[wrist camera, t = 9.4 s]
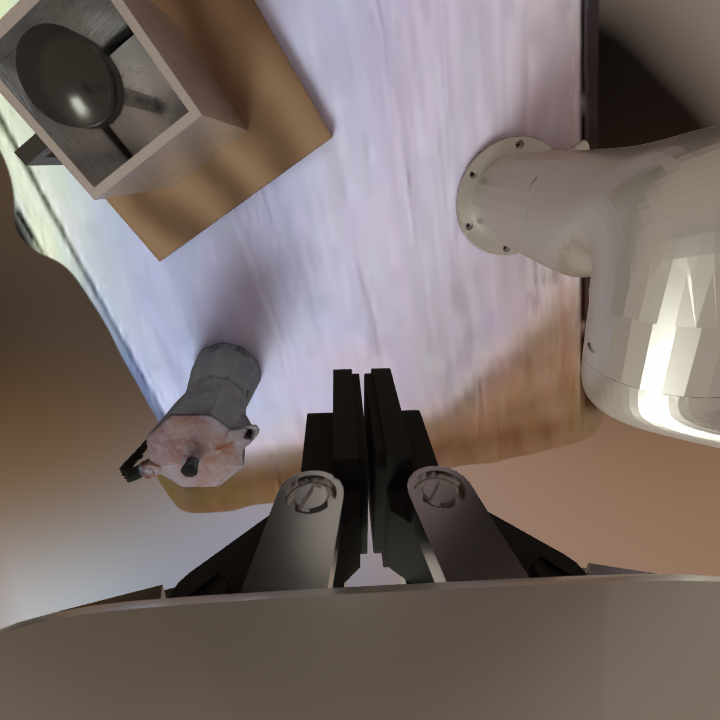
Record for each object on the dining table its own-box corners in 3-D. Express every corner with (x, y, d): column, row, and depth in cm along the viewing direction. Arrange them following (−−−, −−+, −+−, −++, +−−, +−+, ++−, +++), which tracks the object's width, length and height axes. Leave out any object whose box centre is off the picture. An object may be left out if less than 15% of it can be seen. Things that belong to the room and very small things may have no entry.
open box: (178, 24, 37) (81, -60, 23) (248, 130, 41) (202, 115, 27) (79, 111, 40) (-66, 83, 25) (153, 202, 44) (65, 223, 29)
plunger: (152, 24, 32) (53, -50, 21) (219, 122, 36) (164, 104, 24) (82, 86, 34) (-47, 49, 23) (152, 174, 37) (70, 180, 26)
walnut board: (204, -87, 35) (199, -95, 34) (332, 137, 43) (332, 136, 42) (15, 86, 39) (6, 84, 38) (163, 259, 48) (159, 261, 46)
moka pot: (293, 381, 56) (273, 485, 38) (197, 420, 58) (136, 536, 40) (259, 322, 52) (219, 408, 34) (157, 366, 54) (69, 469, 36)
